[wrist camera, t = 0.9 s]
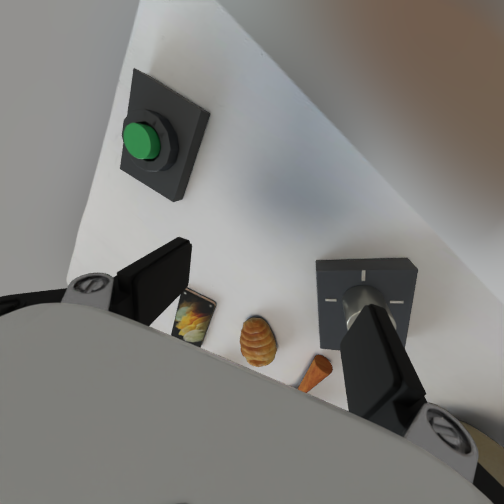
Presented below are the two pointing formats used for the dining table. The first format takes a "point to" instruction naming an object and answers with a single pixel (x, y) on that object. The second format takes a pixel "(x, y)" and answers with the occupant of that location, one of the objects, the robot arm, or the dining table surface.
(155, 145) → the button
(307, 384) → the kendama
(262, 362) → the pastry
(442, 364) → the dining table surface
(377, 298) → the program dial
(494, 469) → the beige bowl
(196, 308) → the smartphone
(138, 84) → the block
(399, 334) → the program panel
